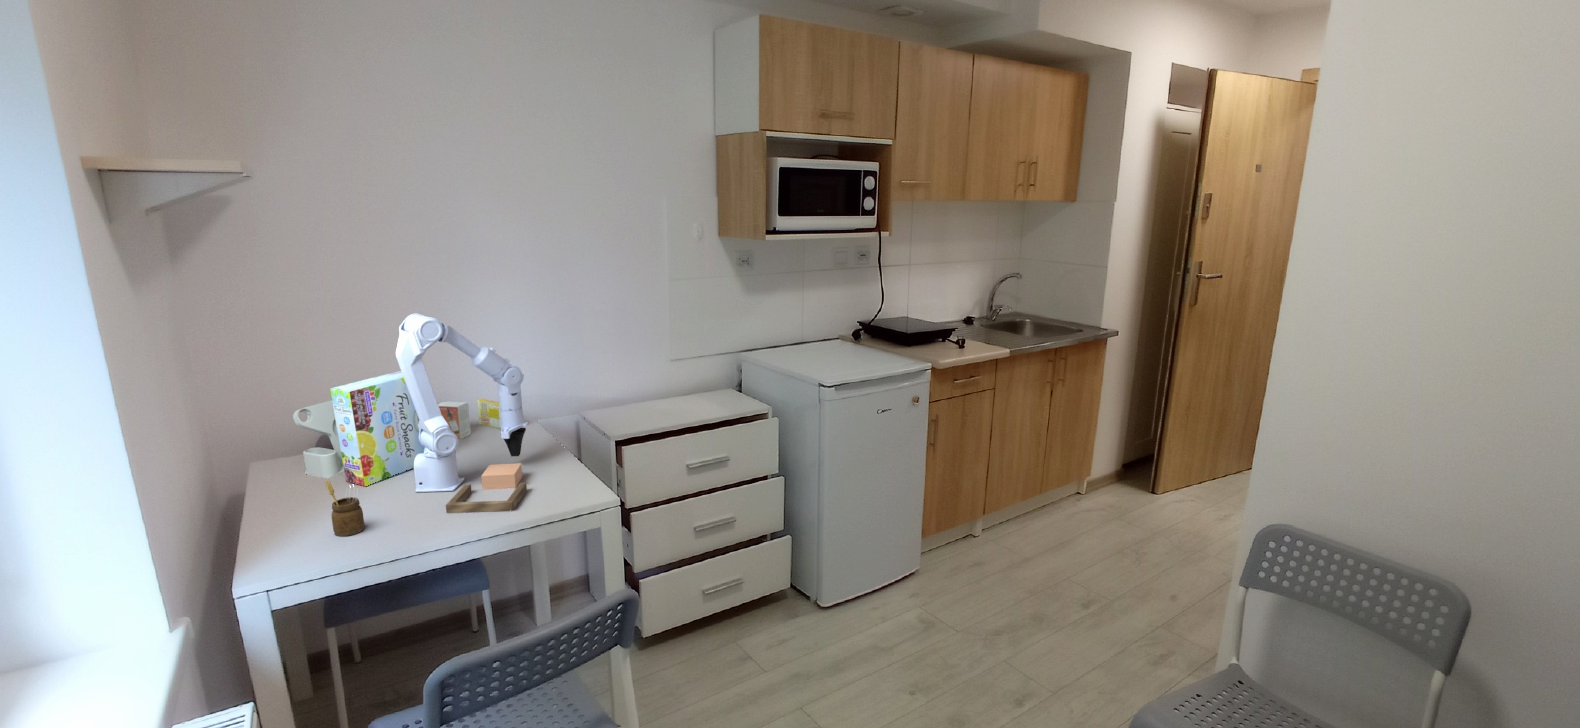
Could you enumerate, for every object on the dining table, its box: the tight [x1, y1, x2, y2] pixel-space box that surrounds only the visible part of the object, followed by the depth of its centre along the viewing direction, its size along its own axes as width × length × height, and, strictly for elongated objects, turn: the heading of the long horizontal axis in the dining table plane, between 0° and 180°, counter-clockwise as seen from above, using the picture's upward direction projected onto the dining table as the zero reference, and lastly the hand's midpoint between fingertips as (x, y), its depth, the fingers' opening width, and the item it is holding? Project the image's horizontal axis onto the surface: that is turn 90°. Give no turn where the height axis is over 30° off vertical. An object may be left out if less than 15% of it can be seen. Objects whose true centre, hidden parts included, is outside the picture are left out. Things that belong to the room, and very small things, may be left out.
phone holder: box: [292, 399, 345, 479], centre depth 200 cm, size 17×10×18 cm, turn 159°
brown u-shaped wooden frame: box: [445, 482, 528, 514], centre depth 178 cm, size 15×12×2 cm
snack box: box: [329, 370, 425, 487], centre depth 195 cm, size 22×9×26 cm, turn 155°
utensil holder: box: [324, 478, 365, 537], centre depth 161 cm, size 6×6×12 cm
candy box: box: [476, 398, 501, 430], centre depth 235 cm, size 16×2×8 cm, turn 58°
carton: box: [480, 462, 523, 491], centre depth 189 cm, size 8×8×4 cm
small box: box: [438, 400, 472, 440], centre depth 225 cm, size 8×6×10 cm
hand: (515, 455), depth 201 cm, fingers closed
